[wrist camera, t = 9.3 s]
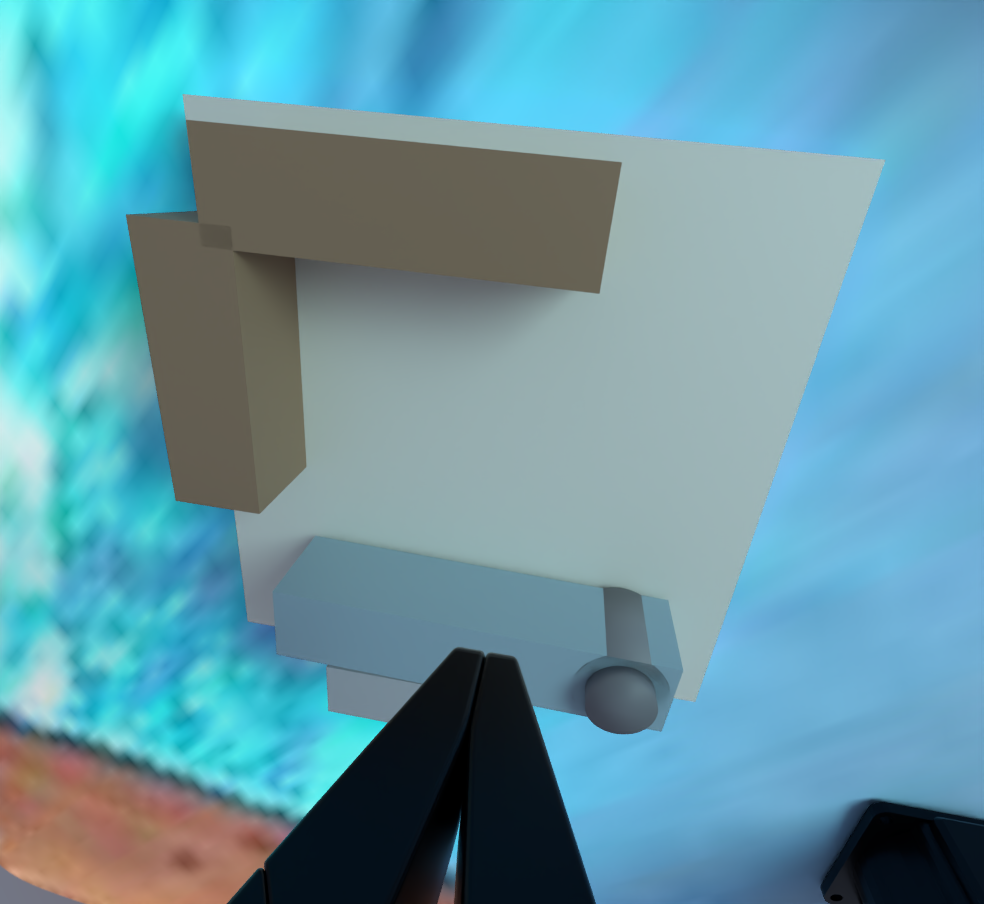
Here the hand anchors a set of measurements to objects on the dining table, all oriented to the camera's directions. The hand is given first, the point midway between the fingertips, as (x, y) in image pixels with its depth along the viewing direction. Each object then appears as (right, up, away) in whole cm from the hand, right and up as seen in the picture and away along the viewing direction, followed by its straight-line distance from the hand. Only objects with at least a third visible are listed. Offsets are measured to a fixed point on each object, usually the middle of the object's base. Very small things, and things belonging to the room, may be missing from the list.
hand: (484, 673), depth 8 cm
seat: (0, +4, +11) cm, 11 cm away
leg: (0, -2, +12) cm, 12 cm away
